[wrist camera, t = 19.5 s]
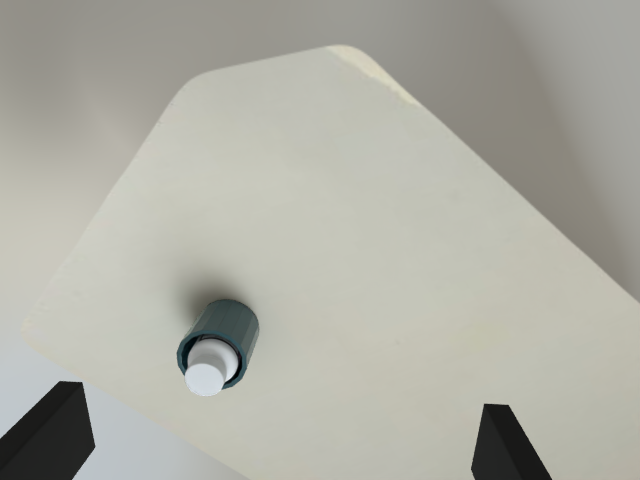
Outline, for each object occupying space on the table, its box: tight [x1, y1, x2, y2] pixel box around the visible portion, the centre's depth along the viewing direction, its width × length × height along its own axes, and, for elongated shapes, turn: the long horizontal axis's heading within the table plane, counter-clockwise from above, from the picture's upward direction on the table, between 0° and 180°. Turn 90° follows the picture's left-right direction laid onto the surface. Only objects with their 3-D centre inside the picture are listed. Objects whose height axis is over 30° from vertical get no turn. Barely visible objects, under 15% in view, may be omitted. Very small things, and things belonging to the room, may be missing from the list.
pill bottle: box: [185, 334, 242, 396], centre depth 43 cm, size 5×5×10 cm
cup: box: [177, 300, 259, 390], centre depth 45 cm, size 8×8×7 cm
